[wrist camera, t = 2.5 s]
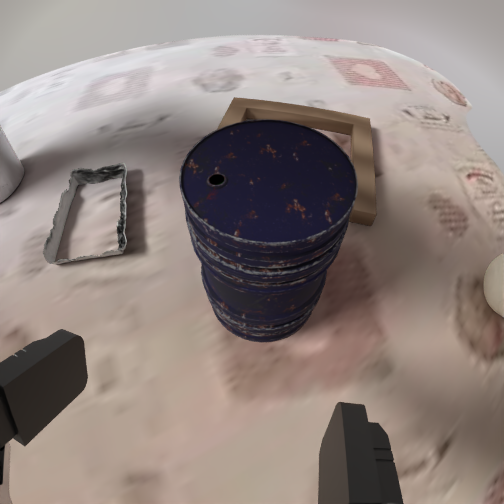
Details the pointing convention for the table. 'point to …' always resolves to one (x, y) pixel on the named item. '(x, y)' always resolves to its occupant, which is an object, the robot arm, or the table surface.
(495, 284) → the white egg
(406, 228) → the table surface
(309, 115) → the walnut bay
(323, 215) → the dark blue ridged cylinder
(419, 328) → the table surface
